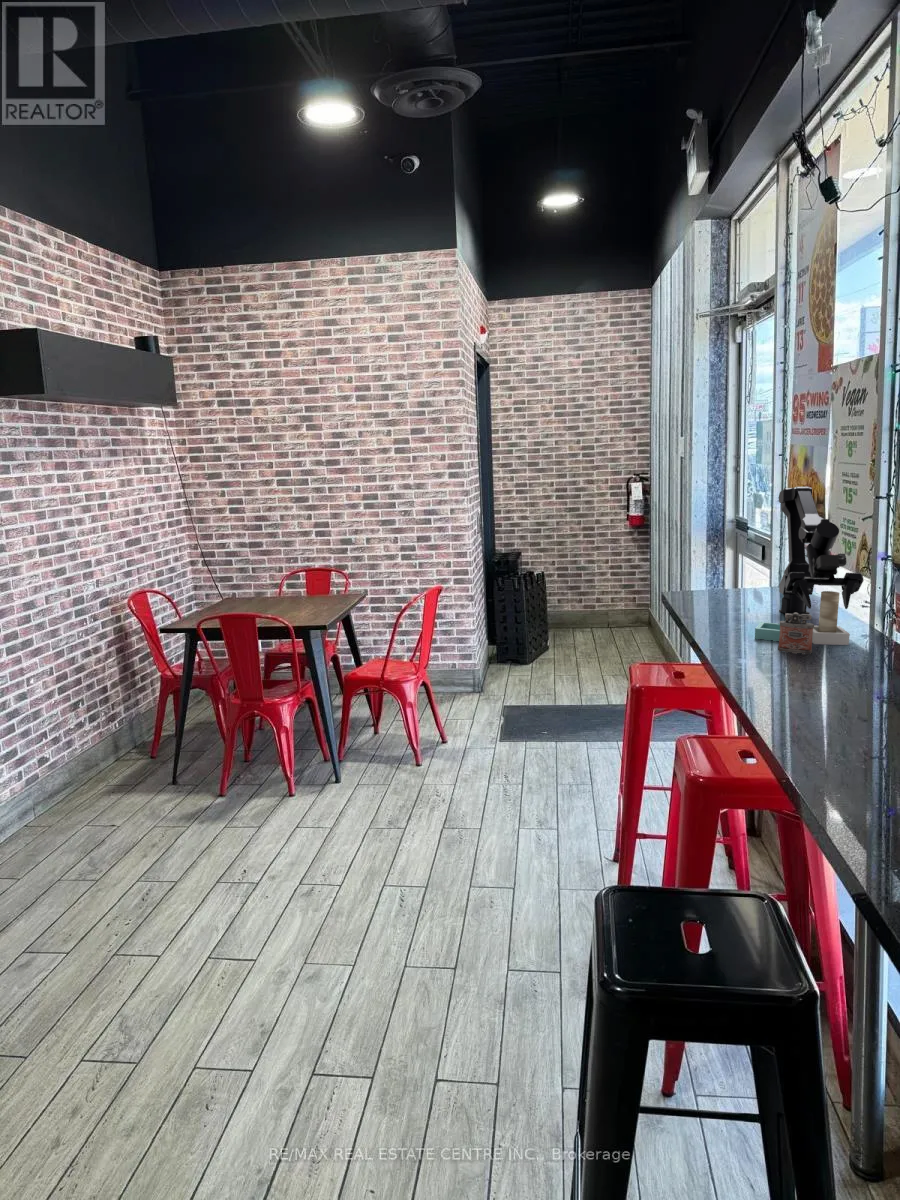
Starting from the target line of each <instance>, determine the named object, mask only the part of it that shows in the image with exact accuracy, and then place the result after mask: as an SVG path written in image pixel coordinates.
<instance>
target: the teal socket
mask: <svg viewBox="0 0 900 1200" xmlns="http://www.w3.org/2000/svg"><path fill="white" fill-rule="evenodd" d="M779 636H780V623H776V622H765V621H761V622H760V623H759V624H758V625H757V626H755V628H754V640H758V639H765V640H764V641H767V640H773V641H772V642H776V641H779Z"/></svg>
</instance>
